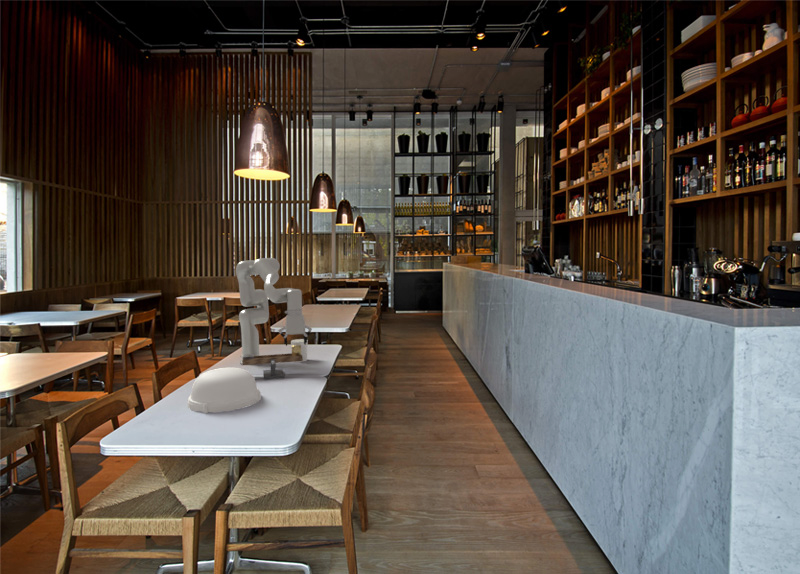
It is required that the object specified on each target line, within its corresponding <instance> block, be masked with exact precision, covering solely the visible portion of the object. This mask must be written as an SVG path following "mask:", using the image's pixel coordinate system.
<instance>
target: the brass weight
mask: <svg viewBox="0 0 800 574" xmlns="http://www.w3.org/2000/svg"><path fill="white" fill-rule="evenodd" d="M291 353H292V356H301V345H292V348H291Z"/></svg>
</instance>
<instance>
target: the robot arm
mask: <svg viewBox="0 0 800 574" xmlns="http://www.w3.org/2000/svg"><path fill="white" fill-rule="evenodd" d="M279 270H280V262H279V261H278V259H276V258H274V257H265V258H264V257H263V258H262V257H261V258H260V257H259V258H258V259H255V260H254V259H253V260H252V259H251V260H250V259H249V260H248V259H247V260H241V261H240V262H238V263H237V265H236V267H235V274H236V278H237V281H238V288H239V289H238V291H239V300H240V304H241V306H243V307H252V308H247V309H246V308H245V309H242V310H241V311H240V312H239V314H238V320H239V325H240V331H241V332H240V333H241V350H242V353H241V355H240V357H241V359H240V360H239V363H240V364H241V365H242V360H243V356H244V355H248V354H254V356H260V340H259V339H260V337H259V336H260V335H259V330H258V328H257V327H256V325H259V324H265V323H267V322H268V321H269V318H270V312H269V300H270V301H271V302H272V303H274V304H282V303H286V304H287V310H285V311H284V314H286V316H285V326H283V327H281V328H279V329H278V330H277V331H278V333H279V334H280V336H281V337H282V338H283V343H284V345H285V346H286V347H287V346H288V336H290V335H292V336H293V335H295V336H296V335H303V339H304V344H305V345H306V343H307V340H308V336H309V335H310V334H311V333H312V330H313V328H312V327H310V326H308V325H306V321H305V320H306V319H305V316H304V314H303V300H302V299H303V296H302V294H303V293H302V292H303V291H302V290H301V289H299V288H291V287H285V288H284V287H283V288H282V287H281V288H276V287H274V286H273V285H275V284H276V283H277V282H278V280H279V279H280V275H279V273H278V271H279ZM257 275H259V277H260V278H261V279H262V281H263V282H264V284H263V289H260V288H259V289H255V281H254V280H253V278H252V277H251V276H257ZM306 330H308V331H307V332H306ZM283 331H285V334H284V332H283Z"/></svg>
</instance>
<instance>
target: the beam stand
mask: <svg viewBox="0 0 800 574" xmlns="http://www.w3.org/2000/svg"><path fill="white" fill-rule="evenodd" d="M269 364H270V369H263V371H262V372H263V374H262V375H263V376H262V377H263V380H270V379H271V380H272V379H284V377H285V375H284V370H283V368H277V366H276V365H277V363H276V362H275V359H273V360H271V363H269Z"/></svg>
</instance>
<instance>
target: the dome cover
mask: <svg viewBox="0 0 800 574" xmlns="http://www.w3.org/2000/svg"><path fill="white" fill-rule="evenodd" d="M187 398H188V399H187V408H188V409H189V408H190V409H191V411H193V410H194V412H197V411H202V412H201V413H203V414H208V413H207V412H213V413H220V412H219V411H226V412H230V411H229V410H232V411H235V410H234V409H237V410H240V409H239V408H242V409H244V408H243V407H245V408H247V407H246V406H248V407H250V406H249V405H251V406H253V405H255V404H257V403H259V402H260V401H261V399H262V394H261V391H260V388H258V387H257V382H256V379H255V376H254V375H253V374H252V373H251V372H250V371H248V370H246V369H244V368H241V367H233V366H231V367H219V368H214V369H210V370H207V371H205V372H202V373H201V374H200V375H198V376H197V377H196V378H195V380H194V382H193V384H192V387H191V393H190V395H189V396H188V397H187ZM259 400H260V401H259ZM256 402H257V403H256ZM254 403H255V404H254ZM252 404H253V405H252ZM190 409H189V410H190Z"/></svg>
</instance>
